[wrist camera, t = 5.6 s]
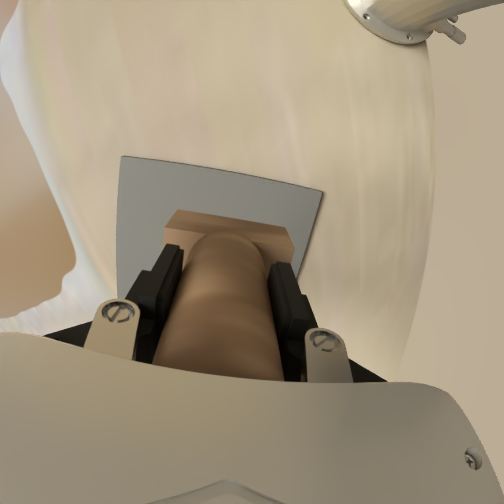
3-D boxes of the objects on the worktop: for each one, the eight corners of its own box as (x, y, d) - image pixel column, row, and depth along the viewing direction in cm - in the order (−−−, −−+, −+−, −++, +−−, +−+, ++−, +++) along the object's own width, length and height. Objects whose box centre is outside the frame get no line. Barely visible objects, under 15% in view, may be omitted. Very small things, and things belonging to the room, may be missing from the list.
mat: (320, 191, 30) (322, 192, 30) (269, 352, 40) (269, 355, 40) (123, 155, 28) (121, 156, 27) (121, 326, 38) (120, 328, 37)
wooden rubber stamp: (286, 222, 16) (385, 448, 4) (272, 279, 17) (317, 503, 5) (178, 203, 15) (47, 413, 3) (172, 263, 16) (93, 480, 5)
